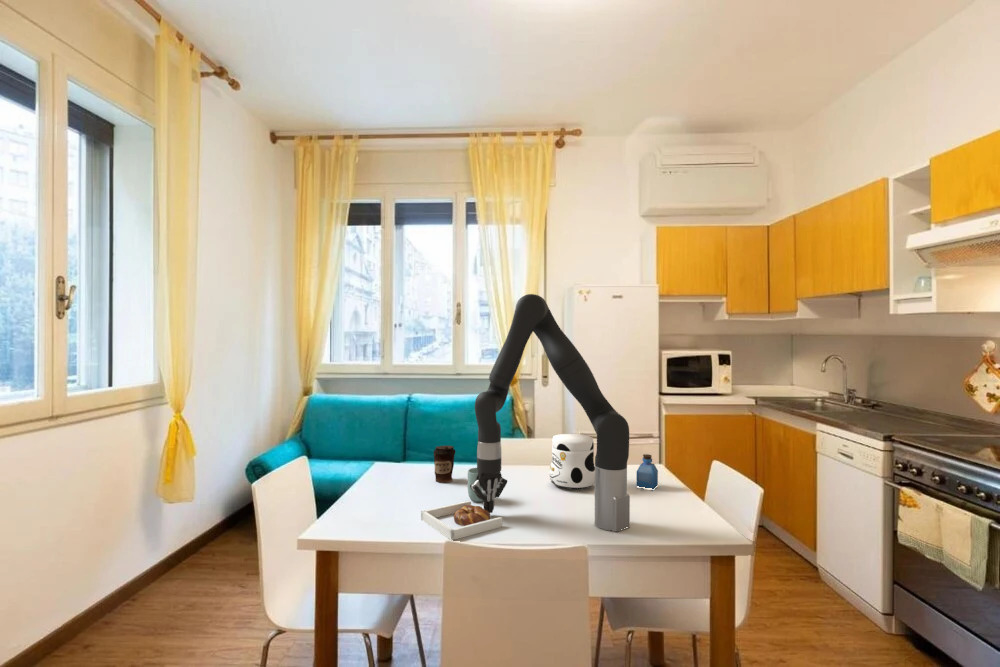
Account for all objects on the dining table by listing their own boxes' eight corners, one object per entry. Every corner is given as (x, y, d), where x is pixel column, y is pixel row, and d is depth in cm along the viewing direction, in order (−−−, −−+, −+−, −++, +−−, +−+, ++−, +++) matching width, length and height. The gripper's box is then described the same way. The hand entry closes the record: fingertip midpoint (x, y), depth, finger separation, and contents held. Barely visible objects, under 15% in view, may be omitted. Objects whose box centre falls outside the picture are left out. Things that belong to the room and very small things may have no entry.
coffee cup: (453, 484, 176) (454, 449, 176) (431, 484, 176) (432, 449, 176) (456, 477, 184) (456, 444, 185) (435, 477, 184) (435, 444, 185)
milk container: (539, 485, 175) (540, 437, 176) (566, 476, 188) (566, 431, 188) (579, 496, 163) (579, 444, 164) (604, 485, 176) (605, 437, 177)
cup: (487, 504, 154) (487, 474, 154) (464, 503, 155) (465, 472, 156) (492, 497, 161) (493, 468, 162) (470, 495, 163) (471, 466, 163)
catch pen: (502, 526, 136) (502, 517, 136) (451, 540, 126) (451, 531, 126) (469, 508, 150) (469, 500, 150) (421, 519, 140) (421, 511, 140)
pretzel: (446, 517, 143) (447, 505, 144) (479, 512, 148) (479, 500, 148) (461, 531, 133) (461, 518, 133) (496, 525, 138) (496, 512, 138)
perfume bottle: (657, 486, 176) (657, 454, 176) (653, 491, 171) (653, 458, 171) (641, 484, 179) (641, 452, 179) (636, 488, 174) (636, 455, 174)
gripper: (477, 461, 137) (477, 520, 137) (513, 455, 145) (513, 511, 145) (464, 456, 144) (464, 513, 143) (499, 450, 151) (499, 504, 151)
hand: (488, 512), depth 144 cm, fingers closed
